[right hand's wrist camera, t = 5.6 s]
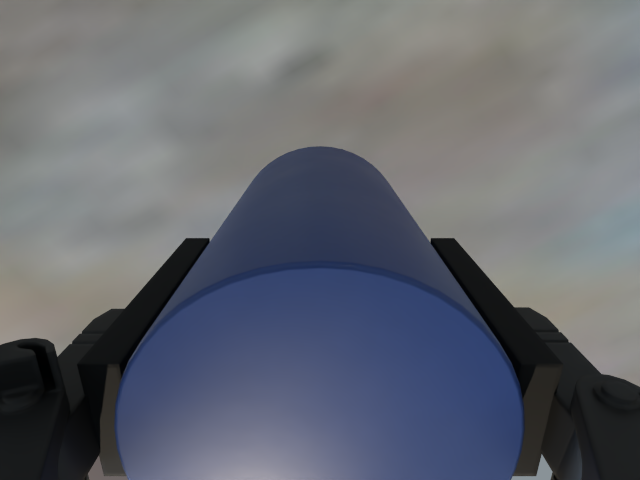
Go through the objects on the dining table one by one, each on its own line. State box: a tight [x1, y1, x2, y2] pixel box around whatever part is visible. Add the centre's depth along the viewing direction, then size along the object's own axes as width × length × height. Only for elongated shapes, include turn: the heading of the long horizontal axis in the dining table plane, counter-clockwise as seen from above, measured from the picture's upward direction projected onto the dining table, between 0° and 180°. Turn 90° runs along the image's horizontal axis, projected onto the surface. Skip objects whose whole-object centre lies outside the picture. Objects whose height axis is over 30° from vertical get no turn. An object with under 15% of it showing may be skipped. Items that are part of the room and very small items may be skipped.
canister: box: [114, 146, 525, 480], centre depth 13 cm, size 7×7×12 cm
